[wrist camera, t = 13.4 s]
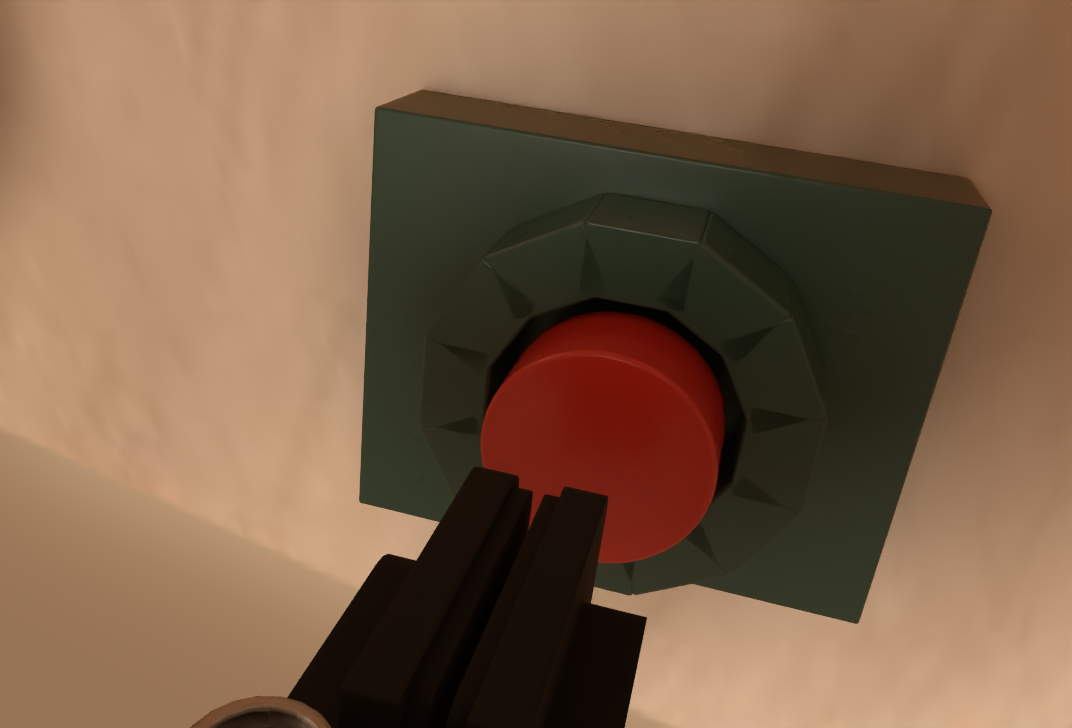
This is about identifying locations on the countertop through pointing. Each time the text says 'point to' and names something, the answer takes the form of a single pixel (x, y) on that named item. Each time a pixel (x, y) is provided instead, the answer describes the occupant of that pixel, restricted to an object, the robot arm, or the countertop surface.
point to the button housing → (669, 319)
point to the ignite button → (613, 427)
